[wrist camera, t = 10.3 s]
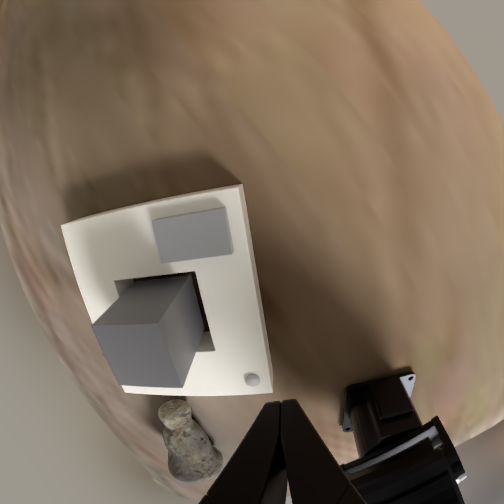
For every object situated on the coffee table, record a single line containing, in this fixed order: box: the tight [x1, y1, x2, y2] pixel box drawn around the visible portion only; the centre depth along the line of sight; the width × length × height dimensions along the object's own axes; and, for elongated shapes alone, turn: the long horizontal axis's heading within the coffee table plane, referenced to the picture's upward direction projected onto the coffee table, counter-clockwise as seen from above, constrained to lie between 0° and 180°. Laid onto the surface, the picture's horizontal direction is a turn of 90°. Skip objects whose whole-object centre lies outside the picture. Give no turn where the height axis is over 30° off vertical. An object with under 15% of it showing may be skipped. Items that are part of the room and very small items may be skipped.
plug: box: [91, 274, 205, 388], centre depth 16 cm, size 4×4×7 cm
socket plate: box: [61, 184, 273, 396], centre depth 18 cm, size 14×12×3 cm
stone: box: [158, 399, 223, 483], centre depth 22 cm, size 10×5×8 cm
